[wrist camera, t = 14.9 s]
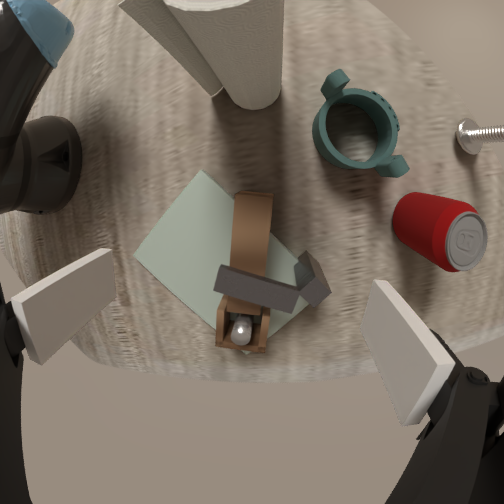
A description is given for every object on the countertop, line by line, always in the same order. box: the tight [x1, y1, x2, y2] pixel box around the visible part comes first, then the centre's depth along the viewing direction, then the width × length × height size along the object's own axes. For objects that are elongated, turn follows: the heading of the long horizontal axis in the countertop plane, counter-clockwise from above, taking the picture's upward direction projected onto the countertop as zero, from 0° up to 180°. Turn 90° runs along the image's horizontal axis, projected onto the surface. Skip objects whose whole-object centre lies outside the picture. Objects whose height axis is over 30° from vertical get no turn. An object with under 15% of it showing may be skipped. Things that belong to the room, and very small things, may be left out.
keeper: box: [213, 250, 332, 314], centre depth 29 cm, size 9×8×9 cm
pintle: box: [231, 313, 254, 345], centre depth 30 cm, size 2×2×7 cm
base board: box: [133, 170, 309, 355], centre depth 33 cm, size 20×14×1 cm
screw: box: [455, 118, 504, 155], centre depth 19 cm, size 13×5×5 cm
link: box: [215, 191, 274, 353], centre depth 29 cm, size 17×6×5 cm, turn 175°
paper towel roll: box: [118, 0, 284, 110], centre depth 17 cm, size 7×6×21 cm
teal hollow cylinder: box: [312, 69, 409, 178], centre depth 23 cm, size 9×9×9 cm
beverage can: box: [393, 192, 488, 272], centre depth 24 cm, size 7×7×12 cm
